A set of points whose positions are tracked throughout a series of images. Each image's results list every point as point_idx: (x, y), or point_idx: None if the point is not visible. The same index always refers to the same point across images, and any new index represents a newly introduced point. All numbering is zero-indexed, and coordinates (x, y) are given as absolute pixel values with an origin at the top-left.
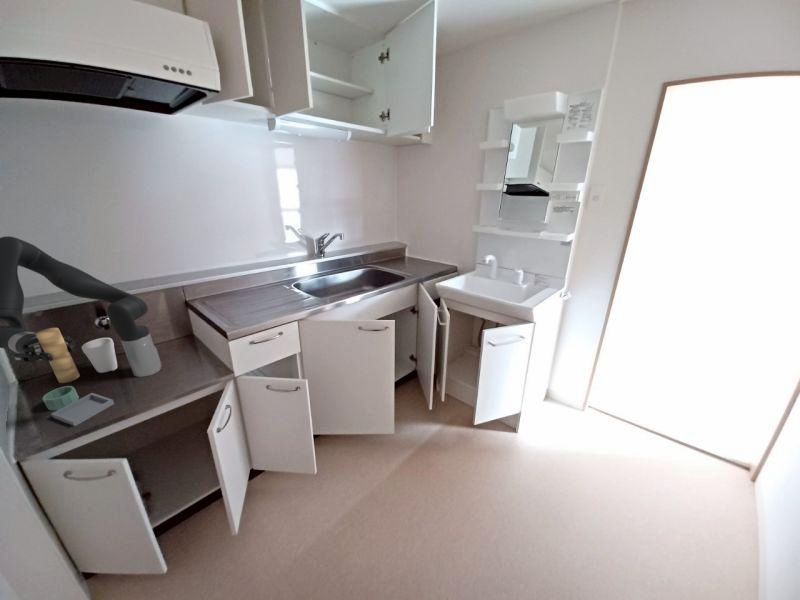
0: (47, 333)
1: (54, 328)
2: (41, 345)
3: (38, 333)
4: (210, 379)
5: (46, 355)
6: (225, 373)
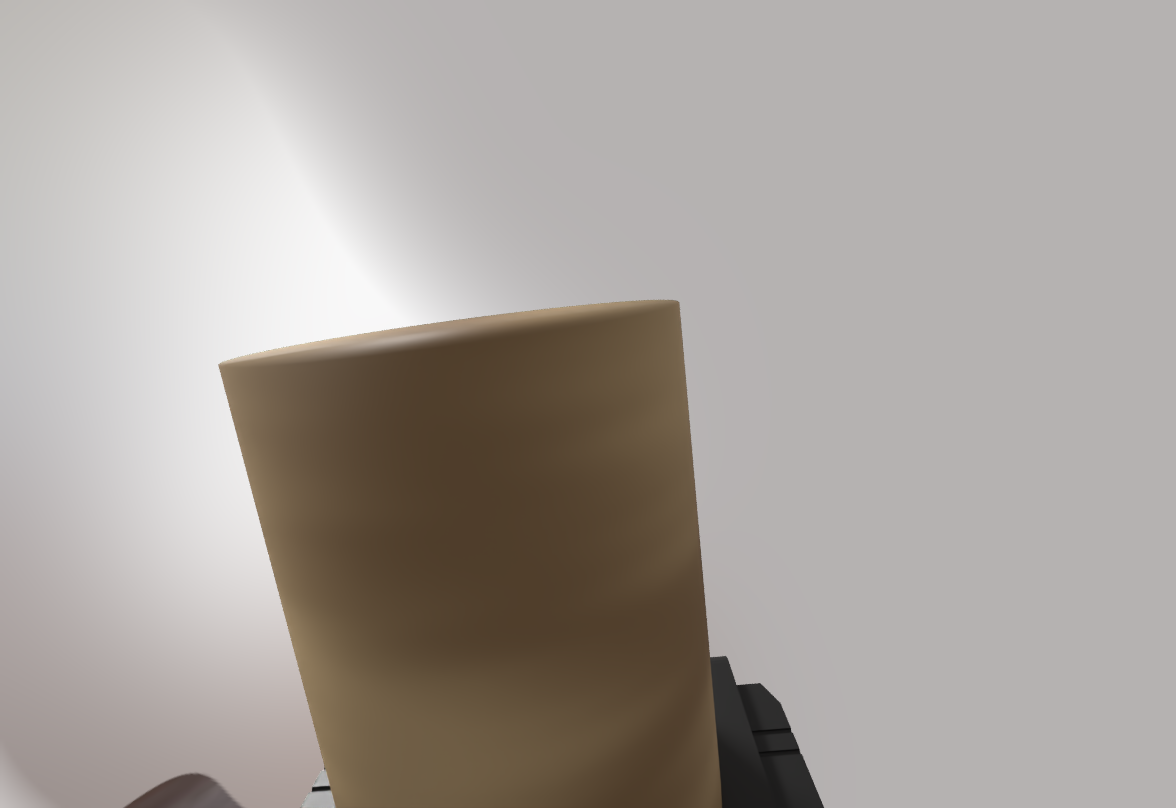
0: (549, 310)
1: (287, 351)
2: (704, 607)
3: (617, 311)
4: (224, 800)
5: (733, 683)
6: (178, 776)
